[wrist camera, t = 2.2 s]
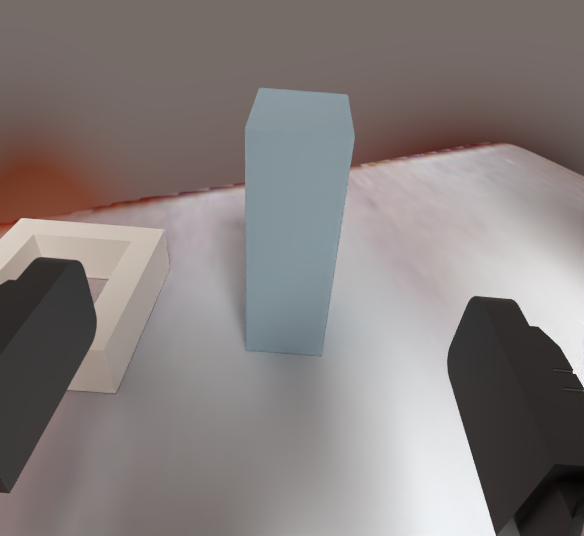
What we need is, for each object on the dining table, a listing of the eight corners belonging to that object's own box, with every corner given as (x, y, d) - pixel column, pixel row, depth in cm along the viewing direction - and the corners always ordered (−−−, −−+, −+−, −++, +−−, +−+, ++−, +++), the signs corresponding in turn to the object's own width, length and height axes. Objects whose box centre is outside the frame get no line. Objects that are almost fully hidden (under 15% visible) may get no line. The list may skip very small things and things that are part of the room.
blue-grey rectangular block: (320, 293, 27) (347, 94, 20) (321, 356, 24) (354, 136, 16) (256, 288, 27) (259, 87, 20) (246, 350, 24) (244, 128, 16)
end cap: (169, 268, 28) (164, 229, 27) (116, 393, 21) (103, 350, 19) (36, 258, 28) (21, 218, 27) (-67, 379, 21) (-97, 335, 19)
